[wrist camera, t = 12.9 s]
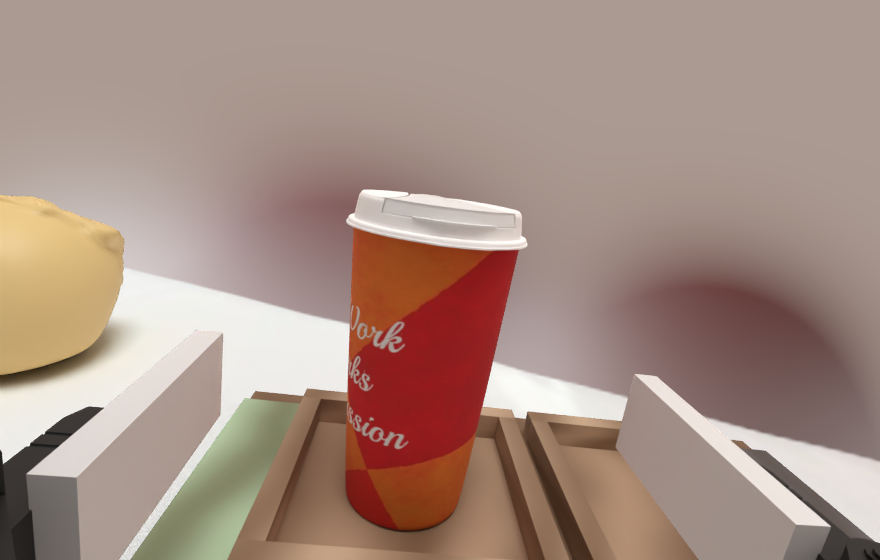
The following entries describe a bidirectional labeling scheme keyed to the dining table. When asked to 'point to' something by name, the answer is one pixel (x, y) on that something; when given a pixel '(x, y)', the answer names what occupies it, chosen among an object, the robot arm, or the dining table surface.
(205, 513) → the wooden compartment tray
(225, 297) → the dining table surface
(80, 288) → the sculpture
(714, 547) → the robot arm
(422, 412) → the paper cup
